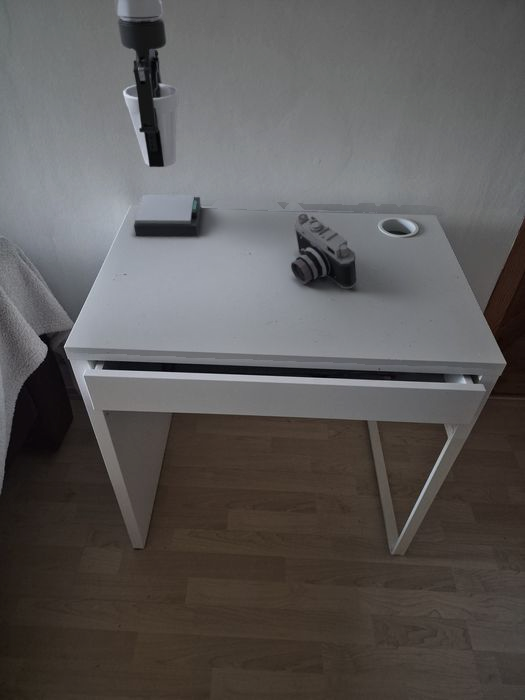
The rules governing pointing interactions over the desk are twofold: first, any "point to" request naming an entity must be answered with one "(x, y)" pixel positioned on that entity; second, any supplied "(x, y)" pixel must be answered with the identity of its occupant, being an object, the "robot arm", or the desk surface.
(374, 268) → the desk surface
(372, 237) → the desk surface
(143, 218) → the scale
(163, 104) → the cup
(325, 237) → the camera
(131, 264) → the desk surface
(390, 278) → the desk surface
